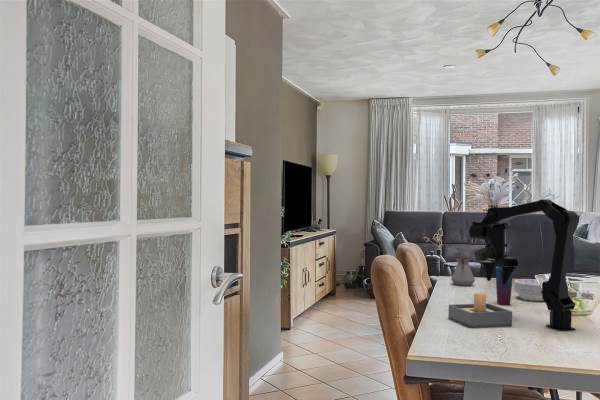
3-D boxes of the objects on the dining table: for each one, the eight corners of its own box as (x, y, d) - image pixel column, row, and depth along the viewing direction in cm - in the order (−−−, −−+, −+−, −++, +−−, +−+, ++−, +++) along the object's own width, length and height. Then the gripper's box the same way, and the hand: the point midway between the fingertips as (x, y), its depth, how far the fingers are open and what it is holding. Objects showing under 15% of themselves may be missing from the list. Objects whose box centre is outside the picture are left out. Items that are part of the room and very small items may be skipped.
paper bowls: (530, 303, 221) (530, 284, 221) (506, 296, 236) (506, 279, 236) (560, 302, 225) (560, 283, 225) (535, 295, 240) (535, 278, 240)
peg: (487, 321, 183) (488, 295, 183) (477, 321, 182) (478, 295, 182) (481, 318, 186) (481, 293, 186) (471, 318, 186) (471, 293, 185)
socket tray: (512, 326, 179) (512, 311, 179) (469, 328, 175) (470, 313, 175) (488, 317, 193) (488, 303, 193) (448, 318, 189) (448, 304, 189)
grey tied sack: (451, 282, 274) (452, 253, 274) (474, 284, 270) (475, 254, 270) (449, 289, 254) (449, 257, 254) (474, 290, 250) (475, 259, 250)
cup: (514, 306, 214) (514, 269, 214) (496, 305, 215) (497, 268, 215) (510, 303, 221) (511, 267, 221) (493, 302, 222) (494, 266, 222)
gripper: (463, 238, 204) (463, 279, 204) (492, 242, 186) (491, 287, 186) (489, 238, 207) (488, 278, 207) (520, 242, 188) (519, 286, 188)
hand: (496, 282), depth 197 cm, fingers open, 9 cm apart
